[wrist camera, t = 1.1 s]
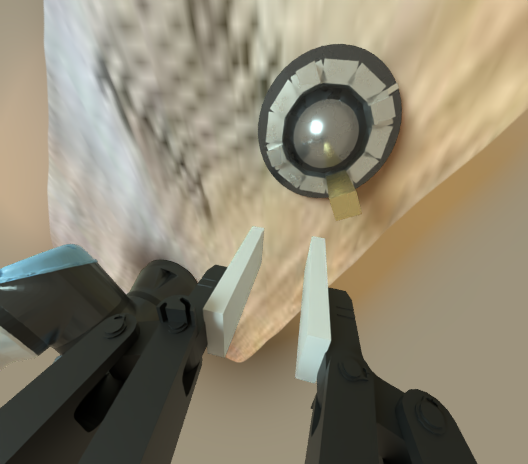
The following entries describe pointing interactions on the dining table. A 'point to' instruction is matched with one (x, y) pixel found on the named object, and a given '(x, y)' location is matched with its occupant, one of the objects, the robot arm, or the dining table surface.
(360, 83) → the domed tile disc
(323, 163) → the housing
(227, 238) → the dining table surface
